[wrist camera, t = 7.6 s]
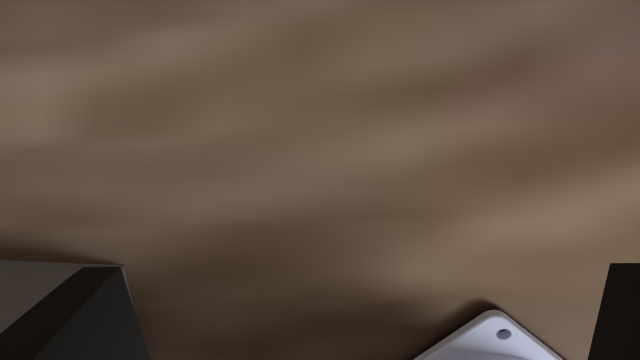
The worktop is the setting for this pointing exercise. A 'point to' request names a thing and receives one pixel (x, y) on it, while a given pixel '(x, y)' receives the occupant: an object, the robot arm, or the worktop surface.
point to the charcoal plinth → (33, 284)
